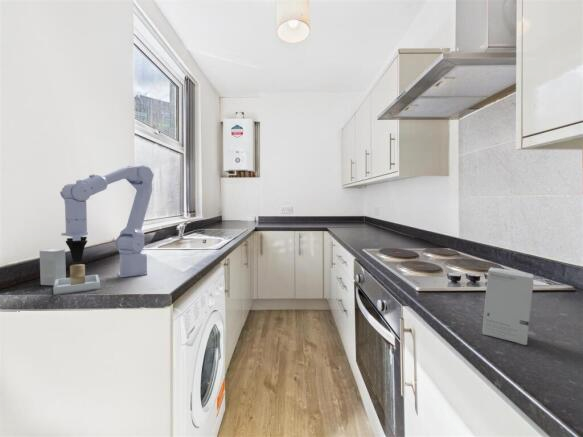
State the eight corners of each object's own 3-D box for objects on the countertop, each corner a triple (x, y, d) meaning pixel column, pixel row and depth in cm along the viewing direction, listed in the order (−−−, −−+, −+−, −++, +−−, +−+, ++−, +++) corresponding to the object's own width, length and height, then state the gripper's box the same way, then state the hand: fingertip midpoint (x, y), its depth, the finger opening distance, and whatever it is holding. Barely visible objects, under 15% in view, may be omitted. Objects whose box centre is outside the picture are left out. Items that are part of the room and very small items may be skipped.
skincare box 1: (66, 282, 103) (65, 249, 102) (55, 285, 99) (54, 251, 98) (51, 281, 104) (50, 248, 103) (39, 285, 99) (38, 250, 99)
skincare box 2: (482, 334, 66) (485, 270, 65) (485, 326, 70) (488, 266, 69) (529, 346, 60) (533, 276, 59) (530, 336, 65) (533, 271, 64)
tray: (98, 280, 106) (97, 274, 106) (100, 288, 96) (99, 282, 96) (55, 285, 98) (55, 279, 98) (53, 295, 89) (53, 287, 89)
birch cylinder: (85, 283, 100) (84, 263, 100) (85, 286, 97) (84, 265, 96) (70, 285, 98) (70, 264, 97) (70, 288, 94) (69, 267, 94)
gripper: (61, 218, 100) (63, 257, 100) (59, 221, 88) (61, 265, 89) (86, 218, 104) (87, 255, 105) (88, 220, 92) (89, 262, 93)
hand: (77, 259), depth 97 cm, fingers open, 7 cm apart
